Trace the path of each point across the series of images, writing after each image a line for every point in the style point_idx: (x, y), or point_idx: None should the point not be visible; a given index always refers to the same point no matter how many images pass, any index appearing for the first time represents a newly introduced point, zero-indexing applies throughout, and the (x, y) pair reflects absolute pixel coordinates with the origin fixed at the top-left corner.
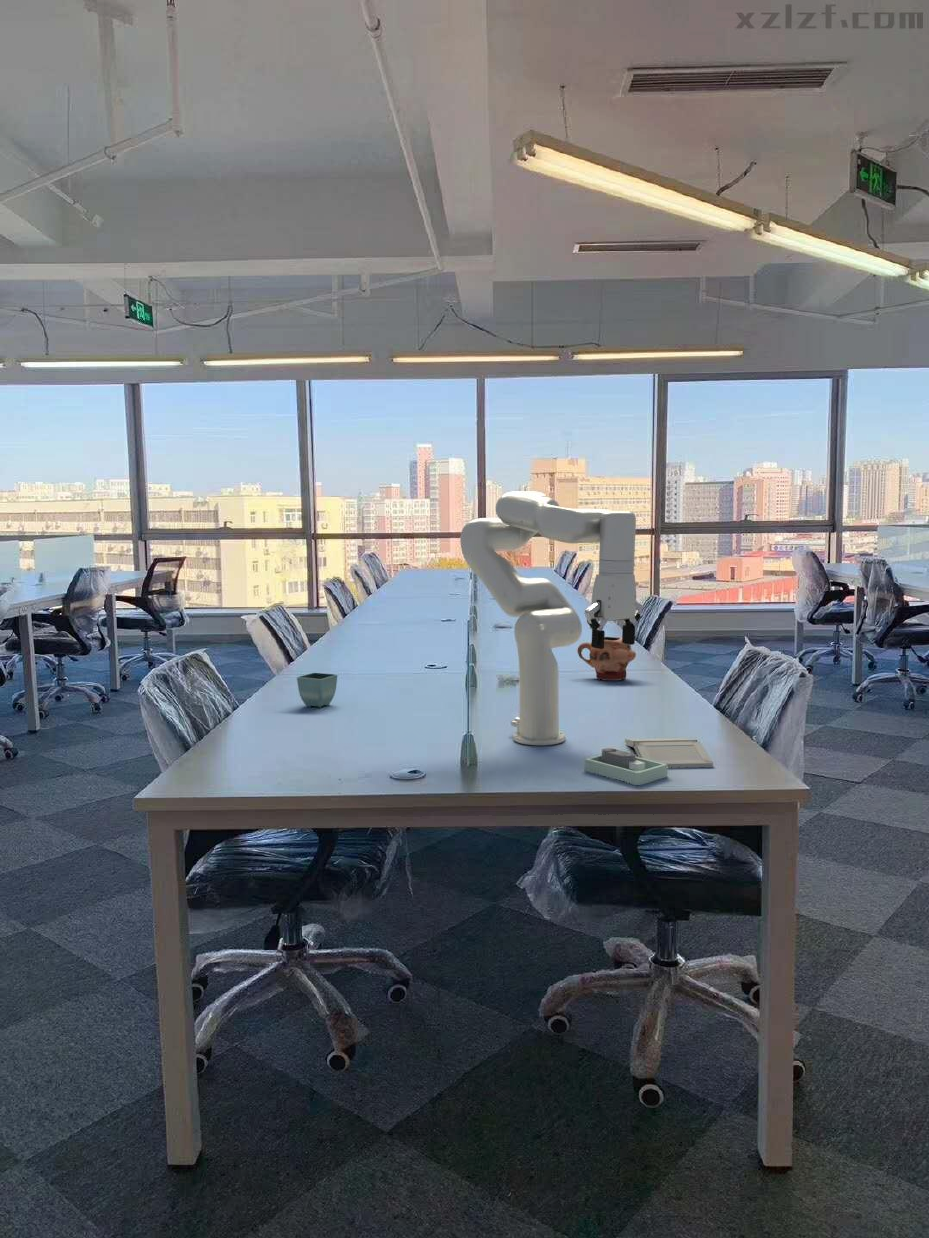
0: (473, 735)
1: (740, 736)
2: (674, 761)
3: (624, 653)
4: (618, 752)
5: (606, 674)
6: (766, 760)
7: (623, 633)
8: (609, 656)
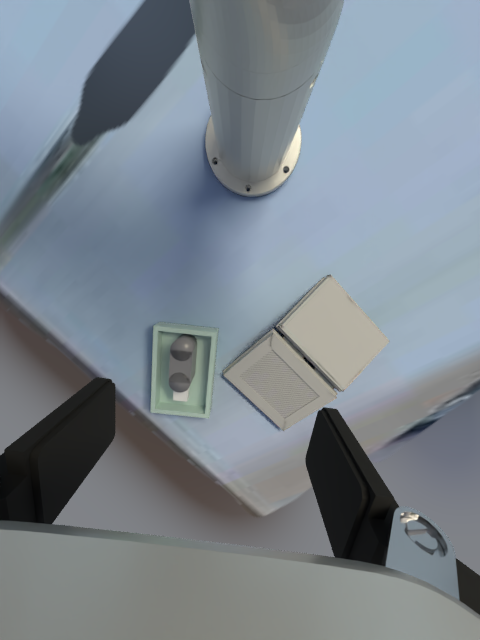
0: None
1: (456, 383)
2: (255, 397)
3: None
4: (180, 366)
5: None
6: None
7: (335, 453)
8: None
